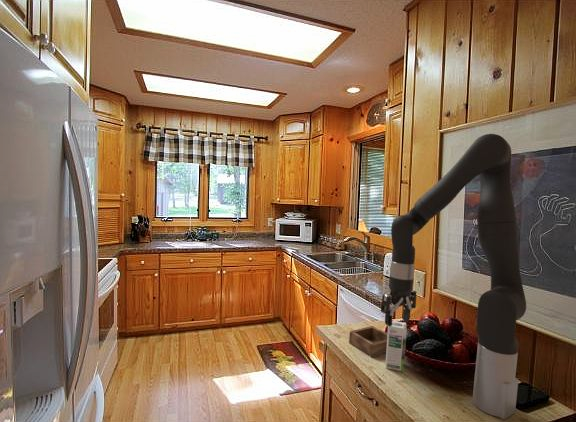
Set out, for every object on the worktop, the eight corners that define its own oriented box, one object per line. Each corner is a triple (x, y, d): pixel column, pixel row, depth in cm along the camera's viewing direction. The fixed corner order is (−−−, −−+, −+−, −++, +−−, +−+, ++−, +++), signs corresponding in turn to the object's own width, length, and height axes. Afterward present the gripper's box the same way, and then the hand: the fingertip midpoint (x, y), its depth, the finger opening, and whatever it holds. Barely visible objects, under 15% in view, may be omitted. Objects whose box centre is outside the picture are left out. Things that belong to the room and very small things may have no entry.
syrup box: (385, 368, 108) (388, 325, 106) (385, 359, 113) (388, 319, 112) (403, 372, 106) (407, 328, 105) (403, 363, 112) (406, 321, 110)
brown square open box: (395, 350, 120) (396, 338, 120) (372, 357, 114) (373, 345, 114) (371, 336, 130) (372, 325, 130) (349, 343, 124) (349, 331, 124)
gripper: (395, 280, 100) (391, 331, 102) (425, 276, 108) (420, 323, 109) (377, 274, 107) (373, 322, 108) (406, 270, 114) (402, 315, 116)
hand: (397, 323), depth 109 cm, fingers open, 8 cm apart
